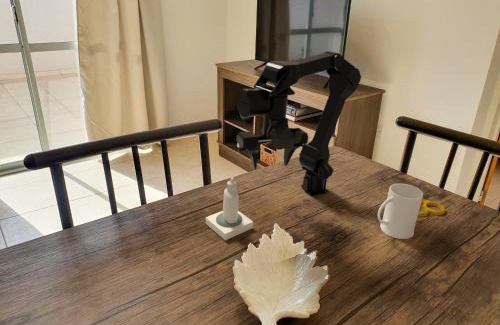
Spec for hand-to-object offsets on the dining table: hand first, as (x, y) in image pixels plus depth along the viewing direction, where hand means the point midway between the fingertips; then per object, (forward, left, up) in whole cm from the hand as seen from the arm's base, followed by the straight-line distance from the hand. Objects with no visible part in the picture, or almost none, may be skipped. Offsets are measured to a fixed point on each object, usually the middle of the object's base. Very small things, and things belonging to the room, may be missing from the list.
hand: (270, 166), depth 102 cm
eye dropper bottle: (+14, +5, -11) cm, 18 cm away
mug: (-26, +22, -13) cm, 37 cm away
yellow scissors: (-40, +17, -14) cm, 46 cm away
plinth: (+14, +5, -13) cm, 20 cm away
